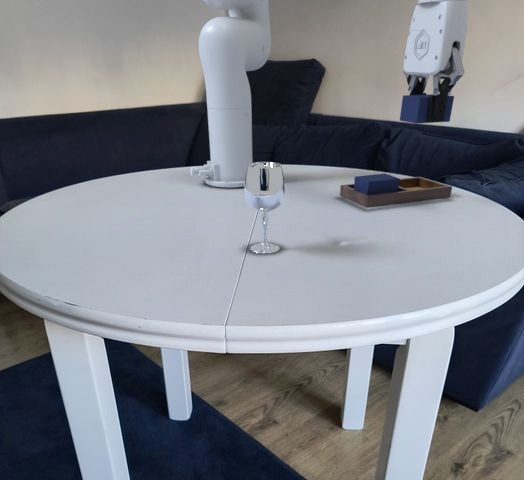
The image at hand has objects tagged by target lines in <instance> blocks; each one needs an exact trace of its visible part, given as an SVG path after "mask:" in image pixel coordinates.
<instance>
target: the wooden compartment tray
mask: <svg viewBox="0 0 524 480" xmlns="http://www.w3.org/2000/svg"><path fill="white" fill-rule="evenodd" d="M452 190H453V186H452V185H449V184H445V183H442V182H439V181H436V180H432V179H429V178H425V177H422V176H413V177H404V178H400V180H399V188H398V192H392V193H384V194H375V195H367V194H365V193H363V192H360V191H358V190H355V189H354V183H349V184H340V189H339V197H343V198H345V199H347V200H349V201H351V202H353V203H356V204H358V205H360V206H362V207H364V208H374V207H381V206H382V207H383V206H391V205H398V204H399V205H400V204H407V203H414V202H422V201H429V200H431V201H432V200H438V199H439V200H440V199H446V198H451V195H452Z"/></svg>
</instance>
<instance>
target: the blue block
mask: <svg viewBox="0 0 524 480" xmlns="http://www.w3.org/2000/svg"><path fill="white" fill-rule="evenodd" d="M400 179H401V178H400V177H397V176H395V175H390V174H388V173H378V174H366V175H355V176H354V182H353V184H354V189H355V190H358V191H360V192H363V193H365V194H367V195H375V194H384V193H392V192H398V188H399V180H400Z"/></svg>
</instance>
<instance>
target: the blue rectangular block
mask: <svg viewBox="0 0 524 480" xmlns="http://www.w3.org/2000/svg"><path fill="white" fill-rule="evenodd" d="M431 95H434V94H433V93H432V94H431V93H430V94H426V95H410V94H405V95H402V100H401V106H400V107H401V108H400V115H399V121H401V122H406V123H410V124H416V125H417V124H433V123H434V124H435V123H436V122H428V121H427V113H428V107H429V101H430V96H431ZM454 100H455V96H454V95H448V98H447V104H446V109H445V115H444V120H443V121H438V122H437V123H449V122H451V117H452V110H453V105H454Z"/></svg>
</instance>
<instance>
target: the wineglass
mask: <svg viewBox="0 0 524 480" xmlns="http://www.w3.org/2000/svg"><path fill="white" fill-rule="evenodd" d="M283 171H284V170H283V167H282V164H281V163H280V162H274V161H273V162H272V161H257V162H253V163H251V164H248V167H247V171H246V177H245V185H244V187H243V189H244V198H245V201H246V203H247V205H248V207H250V208H252V209H254V210H256V211H257V212H261V213H262V214H261V218H260V219H261V224H262V227H263V228H262V229H263V231H262V232H263V233H262V235H263V237H262V241H261V242H259V243H255V244H252V245H251V246H250V248H249V249H250V251H251V252H253V253H256V254H262V255H263V254H264V255H265V254H266V255H267V254H273V253H276V252H279V251H280V249H281V248H280V246H279V245H278V244H276V243H272V242H269V241H268V239H267V229H268V228H267V226H268V222H269V215H268V212H272V211H274V210H276V209H278V208H279V207H280V206H281V205H282V204H283V201H284V199H285V194H286V184H285V176H284V172H283Z"/></svg>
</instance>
